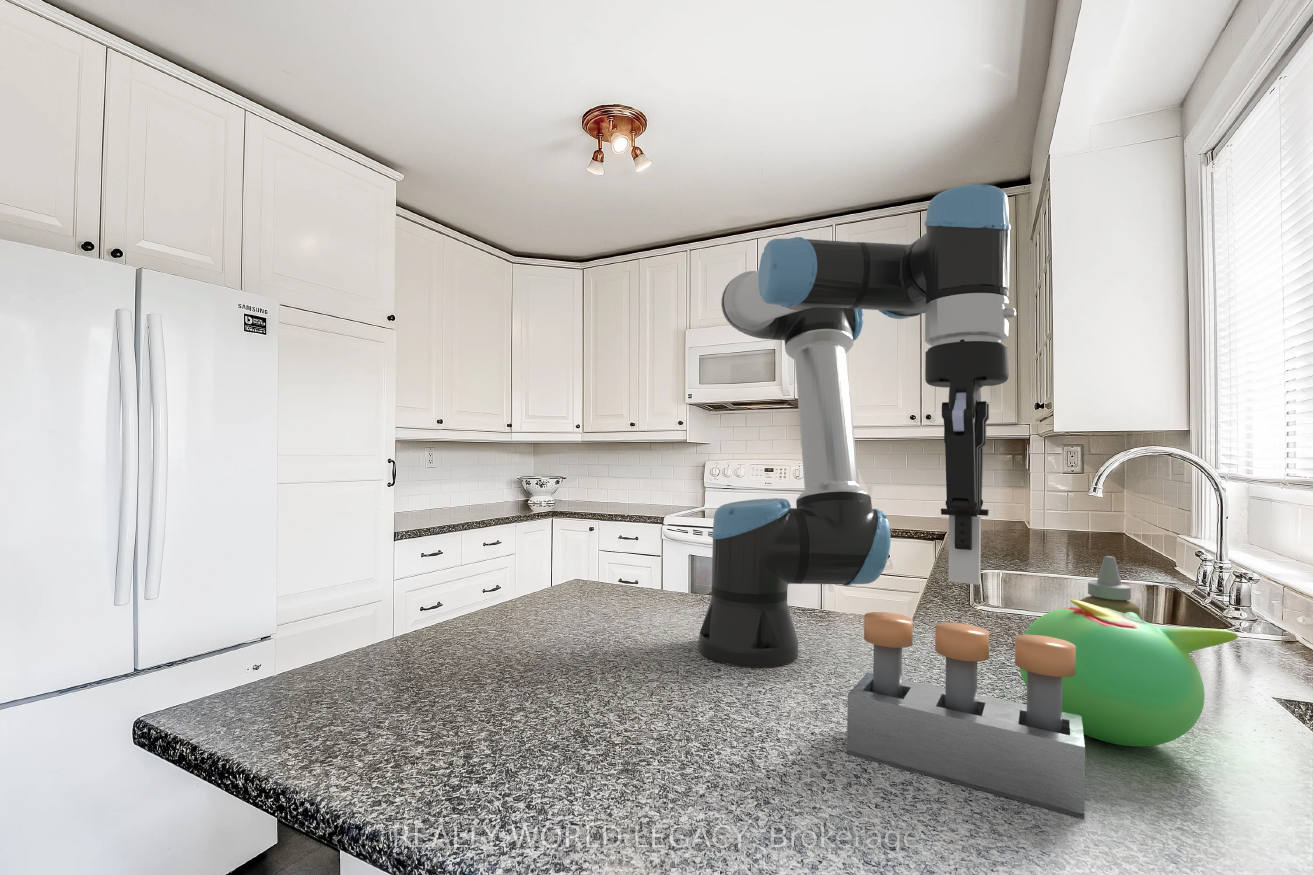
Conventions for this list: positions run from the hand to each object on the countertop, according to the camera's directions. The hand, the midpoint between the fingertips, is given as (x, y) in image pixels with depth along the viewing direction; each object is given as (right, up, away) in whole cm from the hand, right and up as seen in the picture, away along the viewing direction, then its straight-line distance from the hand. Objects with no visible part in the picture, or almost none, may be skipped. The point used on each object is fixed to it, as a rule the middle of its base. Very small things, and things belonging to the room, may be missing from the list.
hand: (964, 581), depth 62 cm
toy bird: (+20, -19, +8) cm, 29 cm away
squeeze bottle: (+29, -20, +21) cm, 41 cm away
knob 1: (-6, -12, +4) cm, 14 cm away
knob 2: (+6, -12, -4) cm, 14 cm away
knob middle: (0, -12, 0) cm, 12 cm away
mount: (-1, -18, 0) cm, 18 cm away
